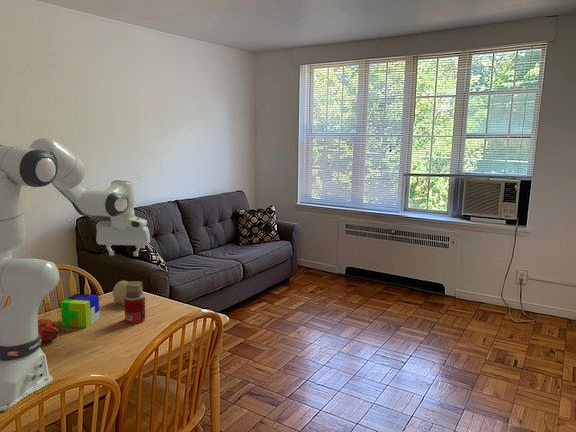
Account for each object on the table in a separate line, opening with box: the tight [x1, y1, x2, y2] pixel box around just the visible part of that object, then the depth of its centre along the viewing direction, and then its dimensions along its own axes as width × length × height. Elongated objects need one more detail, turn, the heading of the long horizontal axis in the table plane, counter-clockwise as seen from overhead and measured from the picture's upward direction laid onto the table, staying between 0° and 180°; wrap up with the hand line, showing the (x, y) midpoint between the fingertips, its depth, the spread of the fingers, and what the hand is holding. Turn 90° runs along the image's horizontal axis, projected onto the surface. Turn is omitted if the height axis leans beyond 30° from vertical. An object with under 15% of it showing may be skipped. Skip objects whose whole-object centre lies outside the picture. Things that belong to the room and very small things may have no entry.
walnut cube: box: [126, 280, 144, 297], centre depth 179 cm, size 5×5×5 cm
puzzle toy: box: [60, 293, 100, 329], centre depth 177 cm, size 10×10×10 cm
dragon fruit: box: [38, 317, 62, 344], centre depth 161 cm, size 8×8×12 cm
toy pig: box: [112, 280, 130, 307], centre depth 197 cm, size 10×12×11 cm
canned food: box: [124, 292, 146, 325], centre depth 180 cm, size 8×8×11 cm
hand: (123, 255), depth 174 cm, fingers open, 8 cm apart
